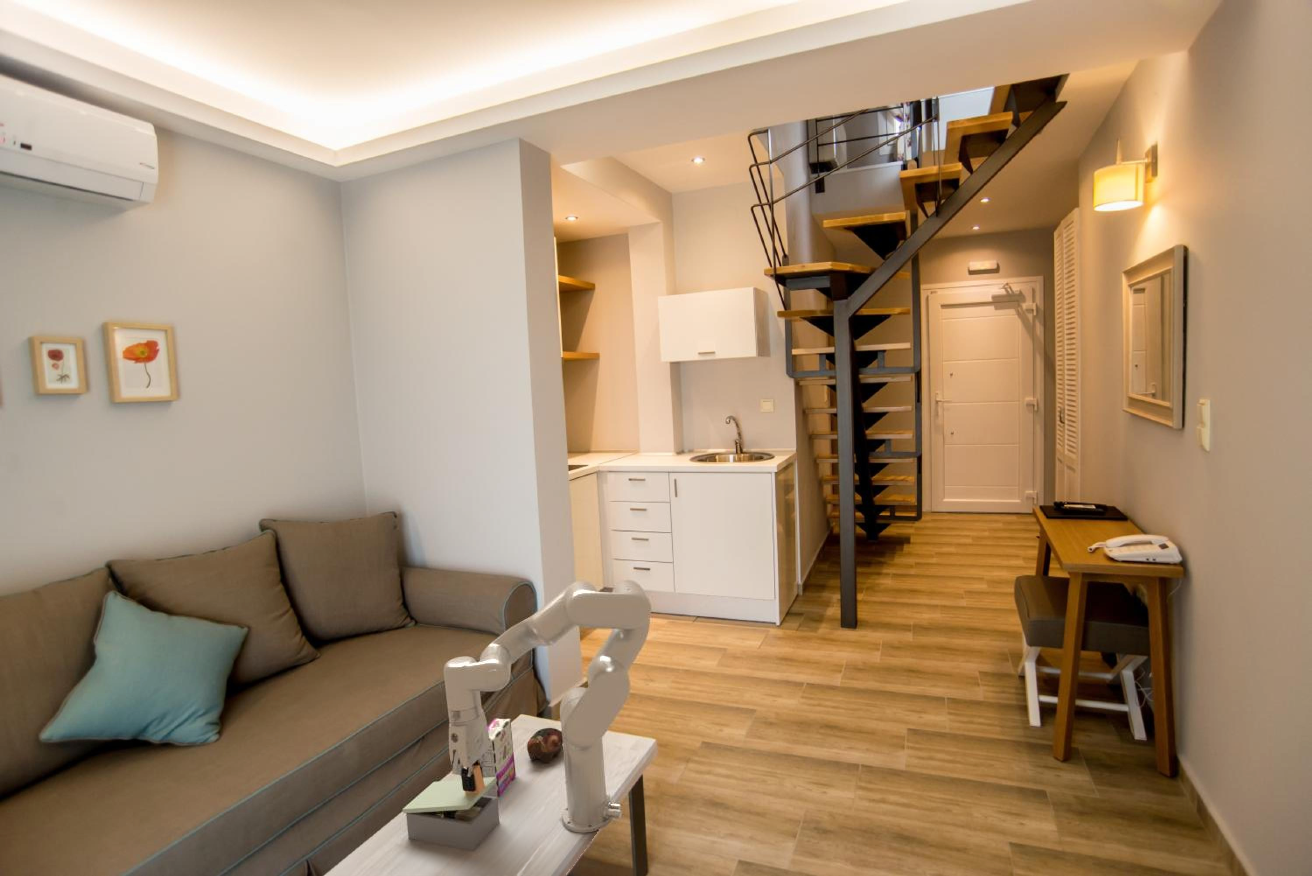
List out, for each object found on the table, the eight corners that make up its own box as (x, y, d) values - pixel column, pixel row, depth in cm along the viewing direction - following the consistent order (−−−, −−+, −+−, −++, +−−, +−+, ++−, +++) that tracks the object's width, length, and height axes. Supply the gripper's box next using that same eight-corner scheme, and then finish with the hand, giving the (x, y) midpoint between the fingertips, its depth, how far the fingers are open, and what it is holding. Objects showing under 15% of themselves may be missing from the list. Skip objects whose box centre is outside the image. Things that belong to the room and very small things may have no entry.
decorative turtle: (517, 768, 193) (515, 739, 193) (546, 745, 206) (544, 718, 207) (547, 772, 189) (544, 743, 189) (574, 748, 203) (572, 720, 203)
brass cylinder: (448, 827, 167) (447, 811, 166) (438, 837, 163) (436, 821, 163) (435, 824, 168) (433, 809, 168) (424, 835, 164) (422, 819, 164)
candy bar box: (499, 775, 190) (494, 717, 189) (516, 776, 189) (511, 718, 188) (481, 799, 179) (476, 738, 178) (499, 800, 178) (494, 739, 177)
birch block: (483, 823, 167) (482, 807, 167) (473, 833, 164) (472, 817, 163) (466, 820, 169) (464, 804, 169) (456, 830, 165) (454, 814, 165)
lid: (497, 780, 167) (490, 755, 167) (468, 809, 156) (461, 781, 156) (434, 785, 174) (428, 760, 174) (403, 813, 163) (396, 786, 163)
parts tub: (499, 824, 168) (497, 797, 167) (473, 854, 157) (470, 825, 157) (438, 813, 174) (435, 787, 173) (408, 841, 163) (406, 813, 163)
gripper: (458, 729, 152) (467, 809, 154) (497, 696, 167) (505, 769, 169) (429, 727, 155) (438, 805, 156) (471, 694, 170) (479, 766, 171)
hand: (473, 786), depth 162 cm, fingers closed on lid, 2 cm apart
